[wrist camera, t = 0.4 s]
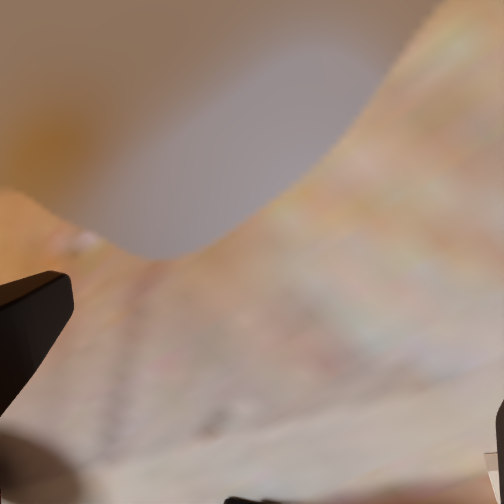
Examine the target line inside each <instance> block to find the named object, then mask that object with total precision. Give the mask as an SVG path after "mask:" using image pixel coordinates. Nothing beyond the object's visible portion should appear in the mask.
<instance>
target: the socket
mask: <svg viewBox="0 0 504 504" xmlns="http://www.w3.org/2000/svg"><path fill="white" fill-rule="evenodd" d="M484 458H485V462H486V466H487V470H488V474H489V477H490V480H491V484H492V487H493V490H494V493H495V497H496V500H497V503H498V504H501V501H500V489H499V472H498V455H497V453H491V454H484Z"/></svg>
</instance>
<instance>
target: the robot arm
mask: <svg viewBox="0 0 504 504" xmlns="http://www.w3.org/2000/svg"><path fill="white" fill-rule="evenodd" d="M73 310H74V300H73V292H72V285H71V279H70V277H69V276H68V275H67V274H65V273H61V272H57V271H46V272H43V273H39V274H36V275H33V276H29V277H26V278H23V279H20V280H16V281H13V282H10V283H6V284H3V285H0V417H1V415H2V414H3V413H4V412H5V410H6V409H7V408H8V406H9V405H10V404H11V403H12V401H13V400H14V399H15V398H16V396H17V395H18V394H19V393H20V391H21V390H22V389H23V387H24V386H25V385H26V384H27V382H28V381H29V380H30V378H31V377H32V376H33V374H34V373H35V372H36V370H37V369H38V367H39V366H40V364H41V363H42V361H43V360H44V358H45V357H46V355H47V354H48V352H49V350H50V349H51V347H52V346H53V344H54V343H55V341H56V339H57V338H58V336H59V335H60V333H61V332H62V330H63V328H64V327H65V325H66V324H67V322H68V321H69V319H70V317H71V316H72V313H73ZM496 438H497V455H498V472H499V489H500V501H501V504H504V400H503V402H502V404H501V406H500V408H499V410H498V412H497V416H496ZM224 504H251V503H246V502H242V501H238V500H233V499H226V500H225V501H224Z"/></svg>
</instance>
